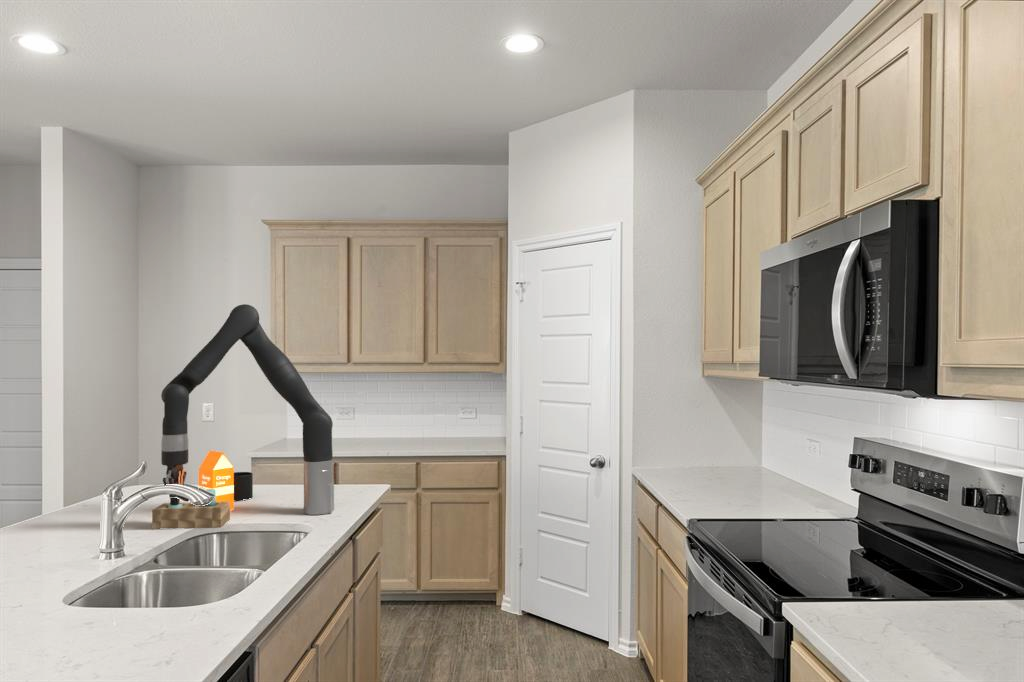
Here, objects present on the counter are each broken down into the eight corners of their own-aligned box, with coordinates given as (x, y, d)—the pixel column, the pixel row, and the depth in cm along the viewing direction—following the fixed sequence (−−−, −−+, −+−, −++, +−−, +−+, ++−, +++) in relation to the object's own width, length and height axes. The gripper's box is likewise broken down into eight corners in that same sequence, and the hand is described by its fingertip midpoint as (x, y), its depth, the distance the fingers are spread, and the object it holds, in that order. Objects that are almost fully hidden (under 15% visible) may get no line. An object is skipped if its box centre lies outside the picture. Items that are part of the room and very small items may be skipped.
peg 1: (184, 521, 219) (184, 503, 219) (179, 524, 215) (179, 506, 215) (171, 522, 219) (171, 503, 219) (165, 525, 215) (165, 506, 215)
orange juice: (212, 514, 231) (212, 453, 231) (198, 511, 236) (198, 451, 237) (234, 510, 237) (234, 451, 238) (220, 507, 243) (219, 449, 243)
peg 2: (217, 507, 220) (217, 488, 220) (213, 509, 216) (213, 491, 216) (204, 507, 220) (204, 489, 220) (199, 510, 216) (199, 491, 216)
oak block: (230, 520, 223) (229, 501, 223) (220, 527, 214) (220, 507, 214) (164, 522, 221) (164, 503, 221) (152, 529, 212) (152, 509, 212)
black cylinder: (261, 495, 263) (261, 471, 263) (242, 502, 251) (242, 476, 251) (239, 494, 265) (239, 470, 265) (219, 501, 253) (219, 475, 253)
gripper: (179, 451, 211) (179, 509, 211) (195, 445, 224) (195, 500, 224) (153, 451, 210) (153, 510, 210) (170, 446, 224) (170, 500, 223)
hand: (174, 504), depth 217 cm, fingers closed
